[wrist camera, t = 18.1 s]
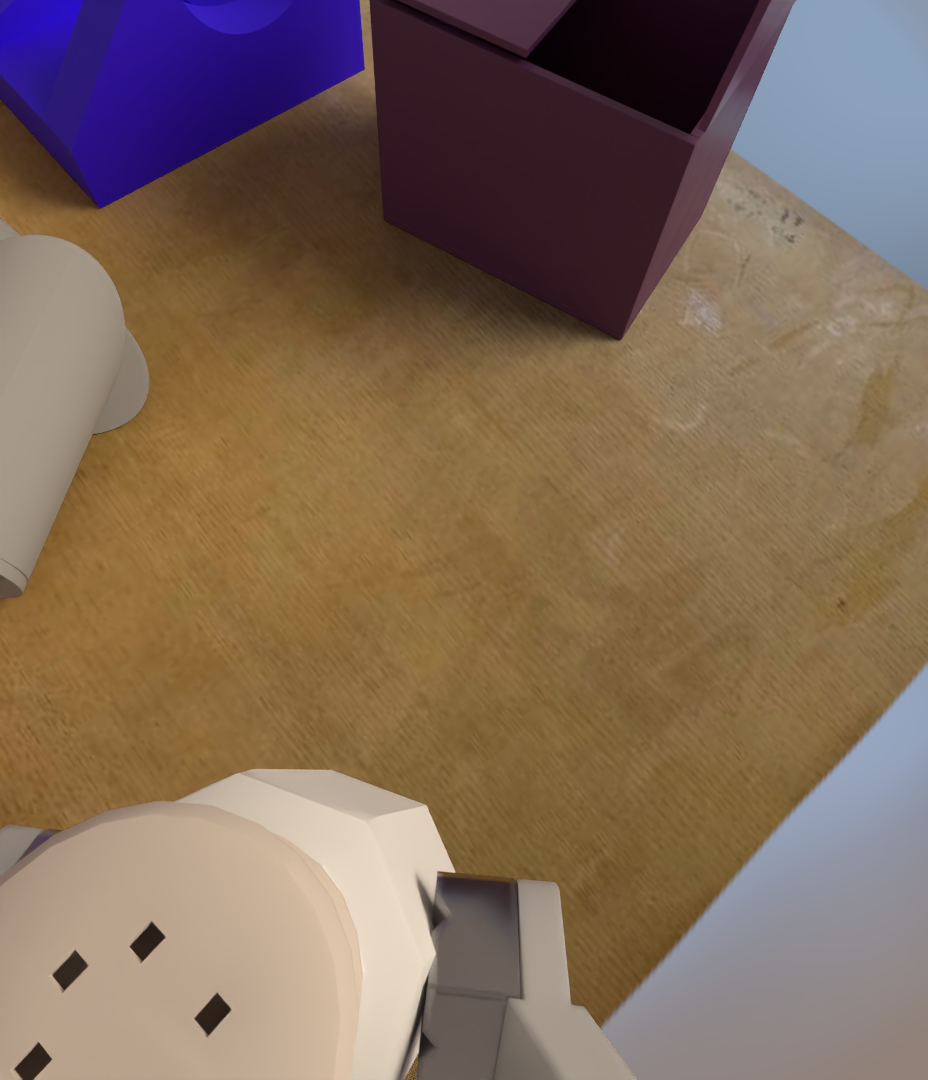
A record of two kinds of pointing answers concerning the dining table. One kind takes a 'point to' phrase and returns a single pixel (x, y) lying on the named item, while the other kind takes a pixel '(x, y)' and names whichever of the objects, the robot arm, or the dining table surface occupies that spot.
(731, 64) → the flap
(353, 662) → the dining table surface
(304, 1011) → the pepper shaker
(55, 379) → the elbow connector
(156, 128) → the bracket
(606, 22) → the carton
